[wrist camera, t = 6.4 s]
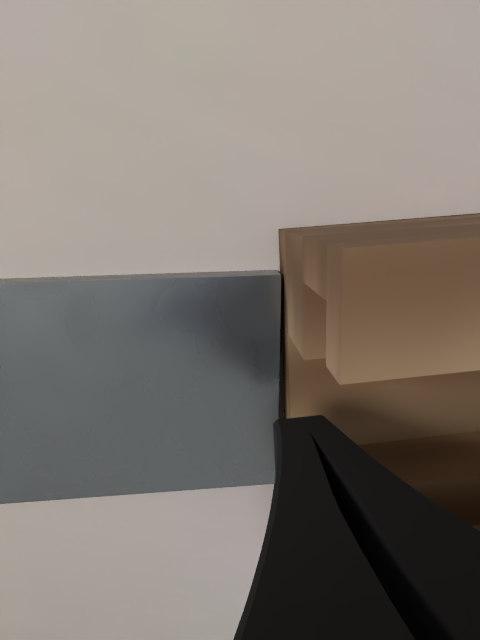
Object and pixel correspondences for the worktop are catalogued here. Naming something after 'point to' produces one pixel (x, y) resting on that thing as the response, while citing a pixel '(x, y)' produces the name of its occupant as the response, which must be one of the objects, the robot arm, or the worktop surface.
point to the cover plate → (137, 383)
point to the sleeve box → (391, 345)
